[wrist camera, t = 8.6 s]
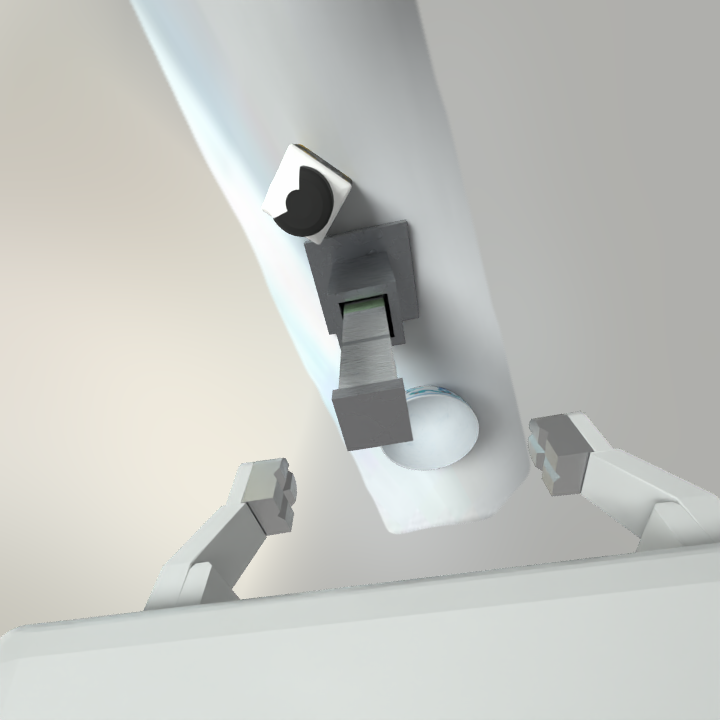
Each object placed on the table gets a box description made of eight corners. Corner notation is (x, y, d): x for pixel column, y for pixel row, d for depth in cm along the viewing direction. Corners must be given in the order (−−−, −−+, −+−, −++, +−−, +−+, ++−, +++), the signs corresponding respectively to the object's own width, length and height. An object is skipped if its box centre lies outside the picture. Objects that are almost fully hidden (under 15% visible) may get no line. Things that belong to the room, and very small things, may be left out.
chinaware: (463, 358, 55) (477, 386, 49) (467, 429, 63) (480, 463, 56) (368, 374, 57) (369, 404, 50) (383, 442, 64) (387, 476, 58)
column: (342, 284, 41) (331, 399, 22) (381, 276, 41) (404, 387, 22) (351, 319, 44) (347, 451, 25) (388, 312, 43) (413, 440, 24)
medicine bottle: (353, 180, 42) (352, 190, 32) (324, 233, 45) (314, 258, 35) (299, 143, 40) (280, 141, 30) (272, 201, 43) (247, 217, 33)
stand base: (305, 241, 46) (288, 272, 34) (405, 219, 45) (422, 244, 33) (330, 330, 52) (322, 381, 41) (417, 313, 51) (435, 361, 40)
